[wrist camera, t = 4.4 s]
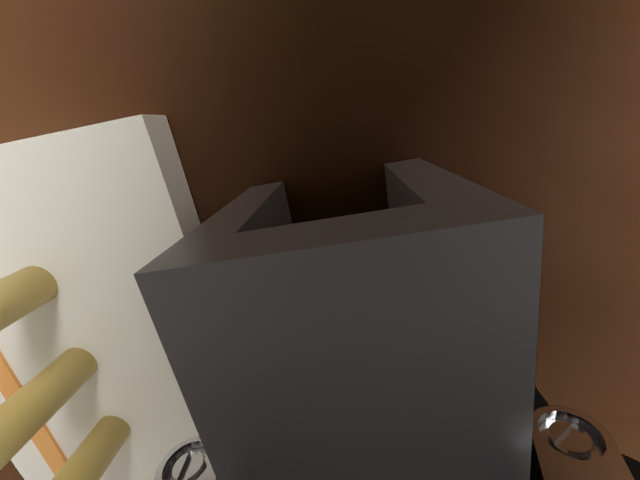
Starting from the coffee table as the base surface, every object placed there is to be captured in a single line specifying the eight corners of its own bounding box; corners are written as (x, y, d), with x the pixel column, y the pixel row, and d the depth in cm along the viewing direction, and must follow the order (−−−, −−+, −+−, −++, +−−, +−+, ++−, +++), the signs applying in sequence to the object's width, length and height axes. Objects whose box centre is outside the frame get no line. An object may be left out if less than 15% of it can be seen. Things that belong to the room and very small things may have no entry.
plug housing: (251, 186, 10) (132, 274, 4) (419, 157, 9) (544, 214, 4) (316, 447, 13) (300, 683, 8) (439, 437, 13) (518, 683, 7)
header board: (-126, 176, 10) (-543, 225, 5) (165, 115, 9) (-31, 107, 4) (66, 478, 15) (-67, 651, 10) (276, 462, 14) (242, 648, 9)
